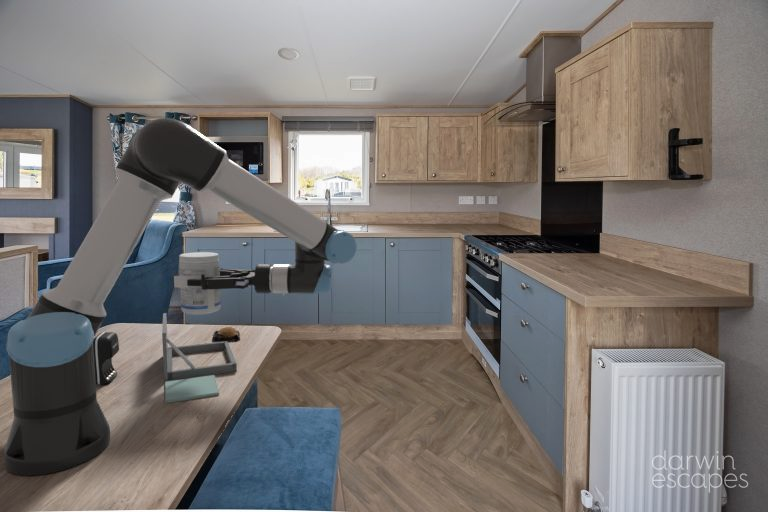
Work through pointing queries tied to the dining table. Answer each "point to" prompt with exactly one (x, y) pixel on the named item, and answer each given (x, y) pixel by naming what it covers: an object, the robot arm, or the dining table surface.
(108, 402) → the dining table surface
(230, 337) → the bread roll
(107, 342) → the battery charger
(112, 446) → the dining table surface
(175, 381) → the mat
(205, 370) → the grey open frame
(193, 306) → the supplement tub
